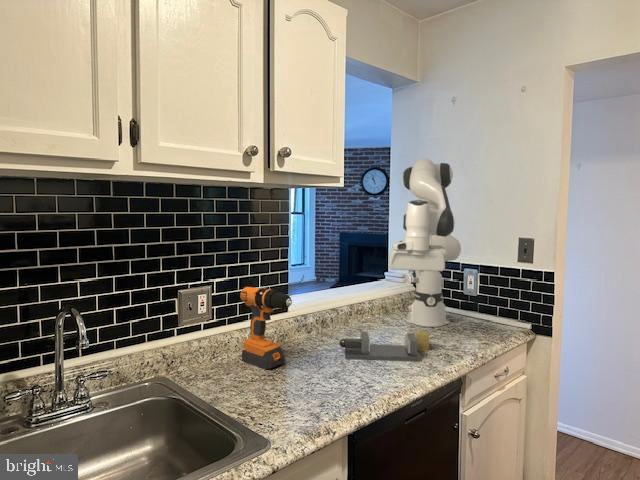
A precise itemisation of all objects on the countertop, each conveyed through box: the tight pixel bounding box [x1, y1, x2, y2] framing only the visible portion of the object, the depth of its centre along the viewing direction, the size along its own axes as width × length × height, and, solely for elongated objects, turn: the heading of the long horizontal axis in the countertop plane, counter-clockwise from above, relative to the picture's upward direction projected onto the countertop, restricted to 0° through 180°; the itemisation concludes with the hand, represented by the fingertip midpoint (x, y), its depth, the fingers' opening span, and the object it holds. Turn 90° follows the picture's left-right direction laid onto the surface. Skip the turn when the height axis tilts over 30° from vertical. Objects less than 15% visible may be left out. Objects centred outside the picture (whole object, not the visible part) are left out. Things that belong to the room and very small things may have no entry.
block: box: [413, 330, 430, 352], centre depth 162 cm, size 4×4×6 cm
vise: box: [344, 332, 421, 362], centre depth 155 cm, size 12×25×6 cm, turn 87°
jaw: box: [339, 331, 371, 354], centre depth 155 cm, size 9×10×5 cm
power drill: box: [239, 286, 293, 371], centre depth 142 cm, size 22×7×25 cm, turn 50°
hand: (415, 282), depth 162 cm, fingers closed
